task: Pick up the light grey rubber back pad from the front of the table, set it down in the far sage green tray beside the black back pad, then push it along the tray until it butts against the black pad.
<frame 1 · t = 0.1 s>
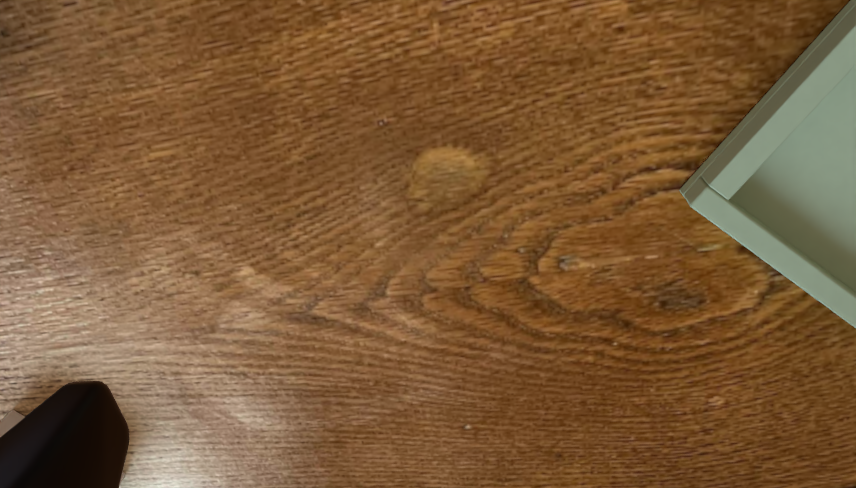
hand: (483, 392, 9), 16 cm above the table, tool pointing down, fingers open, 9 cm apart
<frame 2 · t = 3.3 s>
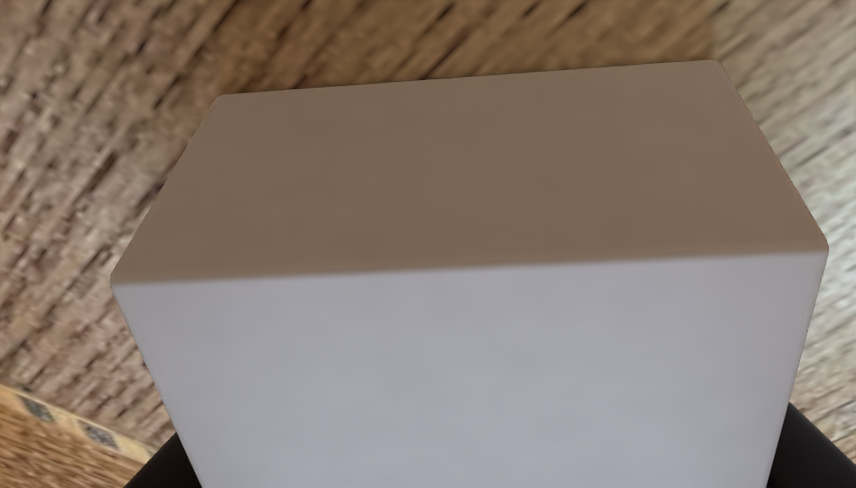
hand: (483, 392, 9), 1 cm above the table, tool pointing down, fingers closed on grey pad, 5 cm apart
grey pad: (480, 331, 10), on the table, touching gripper
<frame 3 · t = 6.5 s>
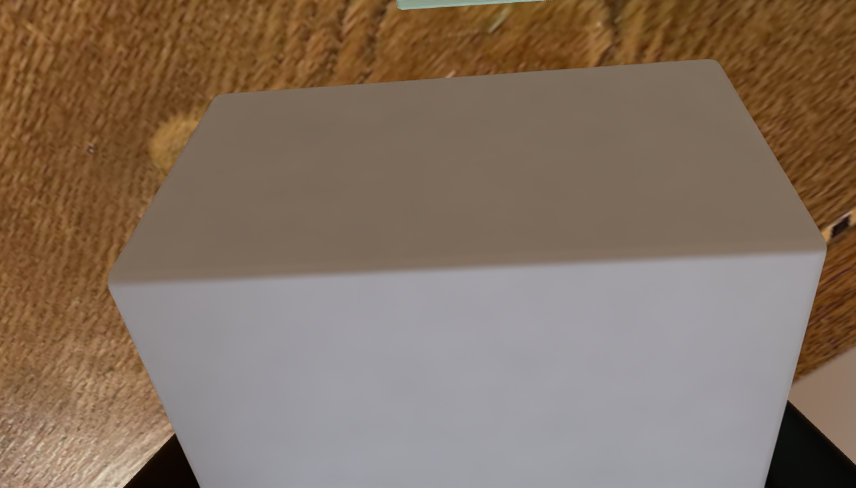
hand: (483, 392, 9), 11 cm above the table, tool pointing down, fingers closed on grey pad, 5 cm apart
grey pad: (479, 330, 10), point 10 cm above the table, touching gripper
when the fingers open (2 cm above the table, at t = 9.7 s): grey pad stays where it is, resting on tray.
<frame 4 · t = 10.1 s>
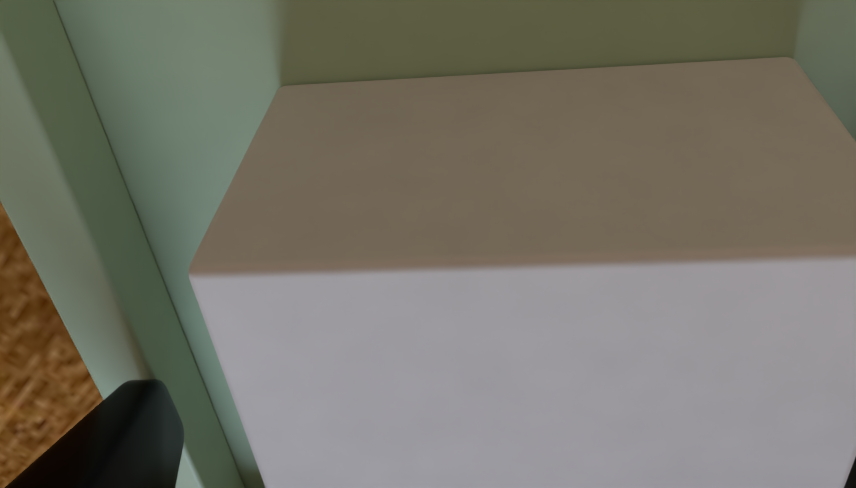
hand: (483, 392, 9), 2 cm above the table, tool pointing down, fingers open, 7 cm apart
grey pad: (531, 329, 10), resting on tray
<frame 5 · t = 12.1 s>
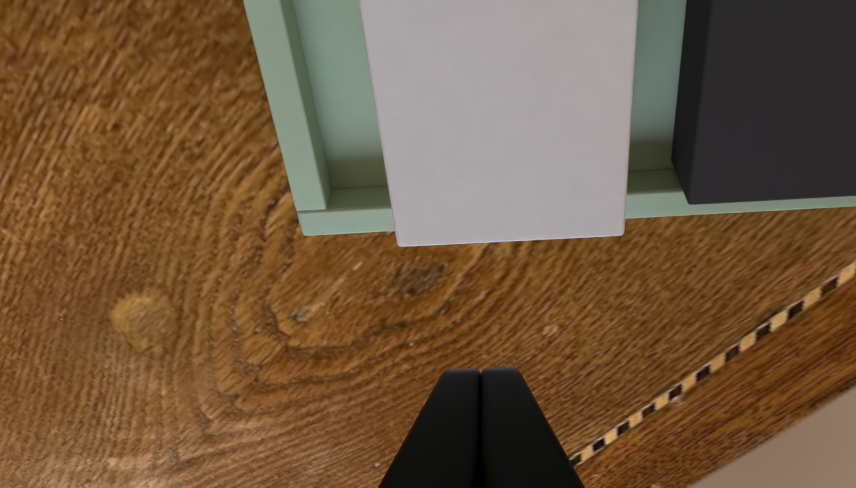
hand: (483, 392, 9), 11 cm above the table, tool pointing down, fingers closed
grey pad: (498, 38, 17), resting on tray
black pad: (802, 14, 17), resting on tray
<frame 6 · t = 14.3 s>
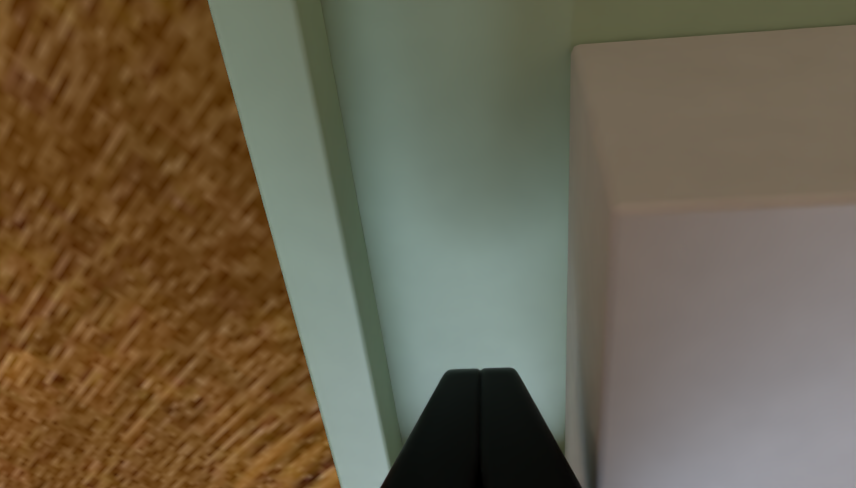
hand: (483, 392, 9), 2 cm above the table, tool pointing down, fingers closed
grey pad: (767, 291, 10), resting on tray, touching gripper
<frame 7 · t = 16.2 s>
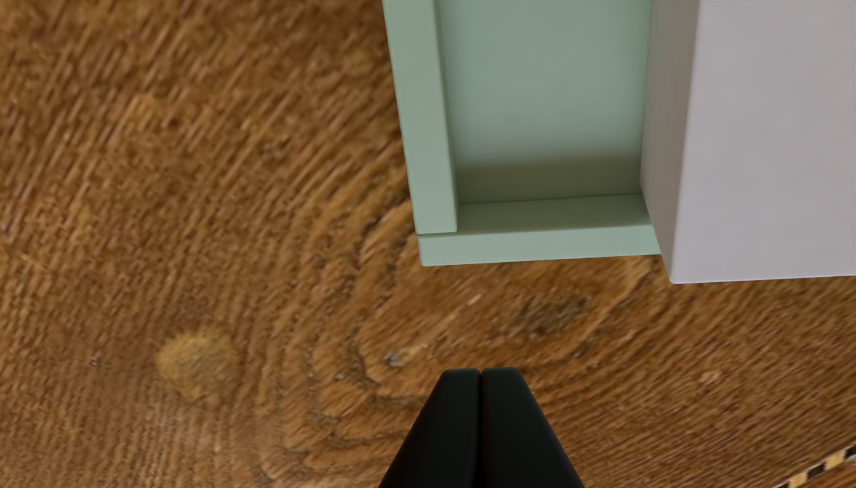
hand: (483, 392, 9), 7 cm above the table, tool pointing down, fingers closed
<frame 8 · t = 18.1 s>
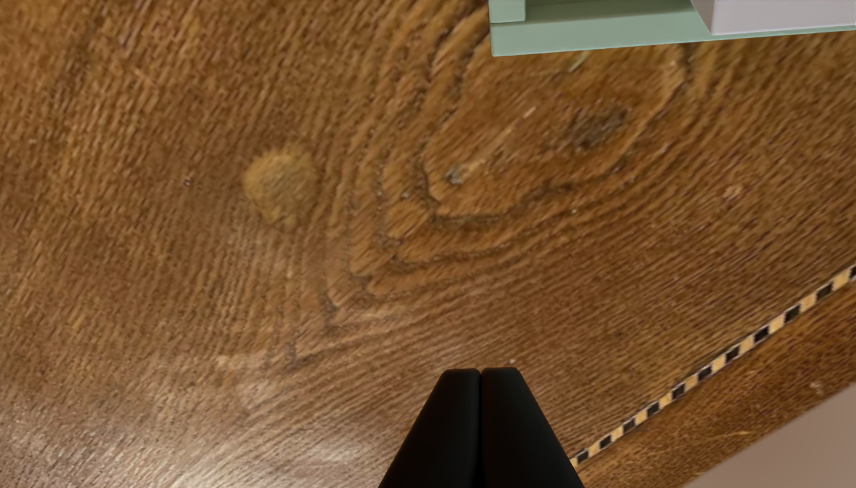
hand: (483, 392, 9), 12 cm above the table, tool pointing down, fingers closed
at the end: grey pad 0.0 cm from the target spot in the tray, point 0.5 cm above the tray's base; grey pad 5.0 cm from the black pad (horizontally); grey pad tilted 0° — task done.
